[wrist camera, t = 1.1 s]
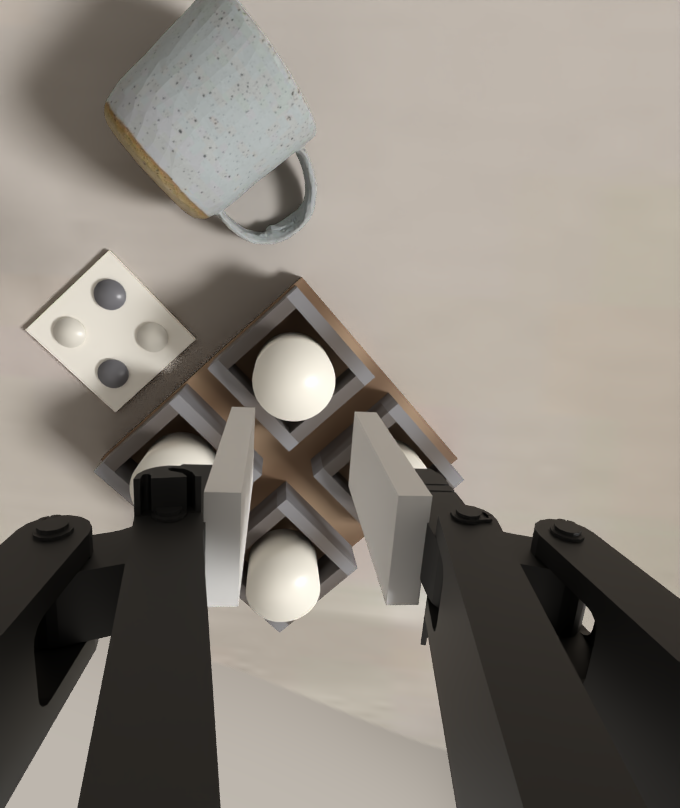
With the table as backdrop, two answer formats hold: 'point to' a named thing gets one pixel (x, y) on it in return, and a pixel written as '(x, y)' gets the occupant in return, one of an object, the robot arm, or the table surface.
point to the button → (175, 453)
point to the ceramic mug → (214, 115)
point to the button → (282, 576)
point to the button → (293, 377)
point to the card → (111, 332)
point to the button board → (289, 434)
